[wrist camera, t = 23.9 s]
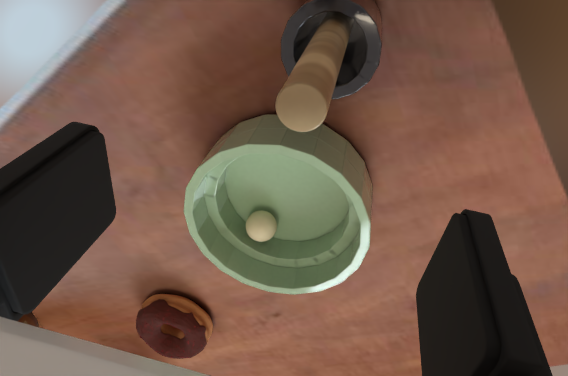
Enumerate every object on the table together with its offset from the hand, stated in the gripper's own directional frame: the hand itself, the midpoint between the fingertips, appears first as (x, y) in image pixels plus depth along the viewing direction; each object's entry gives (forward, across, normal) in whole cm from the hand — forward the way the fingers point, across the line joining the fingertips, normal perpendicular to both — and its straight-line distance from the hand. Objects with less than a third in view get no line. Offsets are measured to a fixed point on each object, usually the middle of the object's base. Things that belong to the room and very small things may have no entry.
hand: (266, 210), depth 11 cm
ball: (+20, +4, +19) cm, 28 cm away
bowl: (+22, +2, +15) cm, 27 cm away
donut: (+22, +14, +39) cm, 47 cm away
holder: (+22, 0, 0) cm, 22 cm away
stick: (+22, 0, 0) cm, 22 cm away
